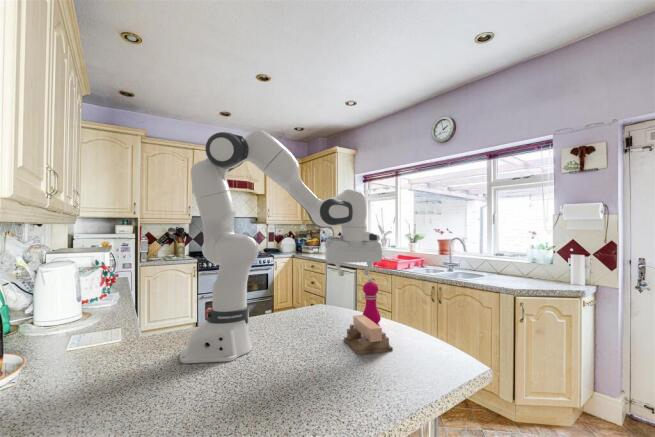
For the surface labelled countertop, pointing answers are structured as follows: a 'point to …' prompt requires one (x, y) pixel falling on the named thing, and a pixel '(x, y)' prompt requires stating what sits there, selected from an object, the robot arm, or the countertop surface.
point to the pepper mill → (371, 301)
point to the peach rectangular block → (367, 328)
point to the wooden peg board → (366, 342)
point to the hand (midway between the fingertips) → (353, 275)
